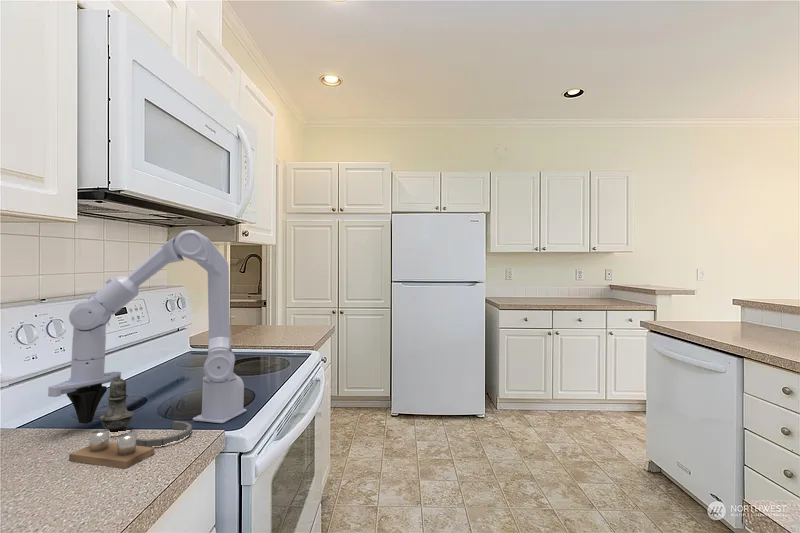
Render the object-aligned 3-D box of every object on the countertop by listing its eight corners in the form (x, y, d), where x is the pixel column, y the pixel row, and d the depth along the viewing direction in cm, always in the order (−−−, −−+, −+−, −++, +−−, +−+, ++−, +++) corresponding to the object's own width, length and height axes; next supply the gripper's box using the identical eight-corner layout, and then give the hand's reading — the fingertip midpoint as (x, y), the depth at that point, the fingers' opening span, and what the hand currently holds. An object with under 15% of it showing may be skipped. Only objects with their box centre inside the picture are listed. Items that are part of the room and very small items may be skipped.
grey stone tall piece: (115, 439, 82) (118, 378, 82) (91, 436, 83) (94, 377, 83) (139, 428, 88) (142, 372, 88) (116, 426, 89) (119, 370, 89)
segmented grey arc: (175, 427, 89) (175, 420, 89) (202, 430, 87) (202, 423, 87) (132, 447, 78) (132, 439, 78) (162, 451, 76) (163, 443, 76)
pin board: (100, 447, 78) (101, 425, 78) (154, 454, 75) (155, 431, 75) (68, 460, 72) (70, 436, 72) (125, 468, 69) (126, 443, 69)
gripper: (104, 351, 96) (101, 410, 95) (37, 363, 81) (33, 432, 81) (129, 353, 94) (126, 412, 93) (65, 365, 80) (62, 435, 79)
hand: (85, 422), depth 87 cm, fingers closed
